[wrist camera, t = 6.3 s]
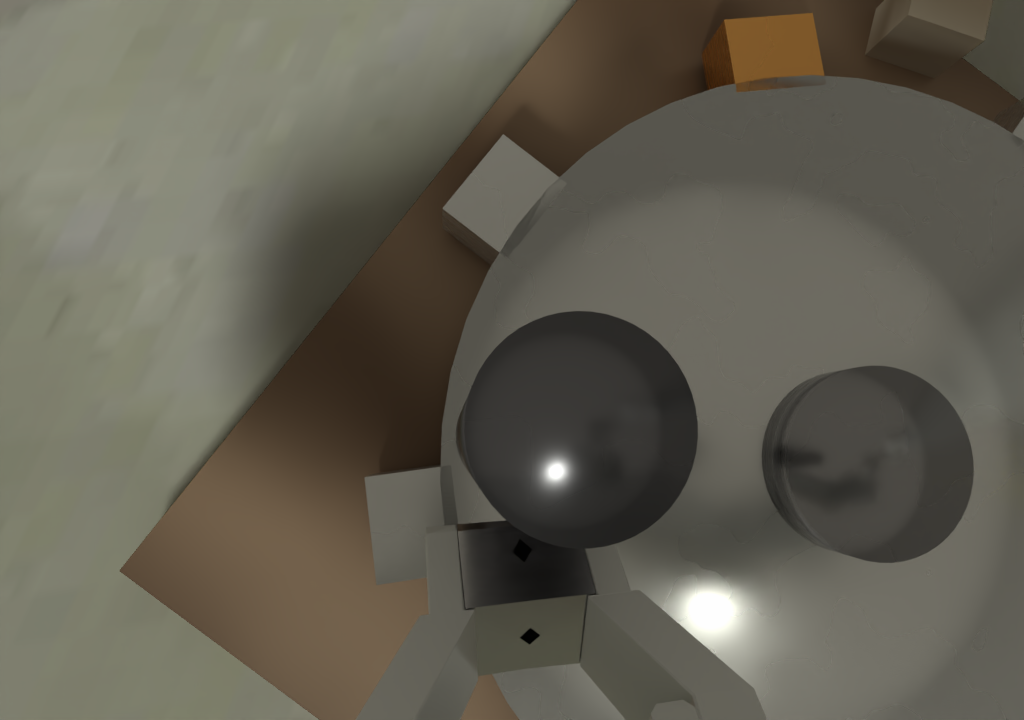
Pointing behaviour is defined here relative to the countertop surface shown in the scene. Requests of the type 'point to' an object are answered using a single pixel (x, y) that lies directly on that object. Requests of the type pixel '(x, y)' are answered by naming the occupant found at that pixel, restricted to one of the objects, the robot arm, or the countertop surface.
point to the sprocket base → (453, 346)
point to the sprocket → (757, 385)
